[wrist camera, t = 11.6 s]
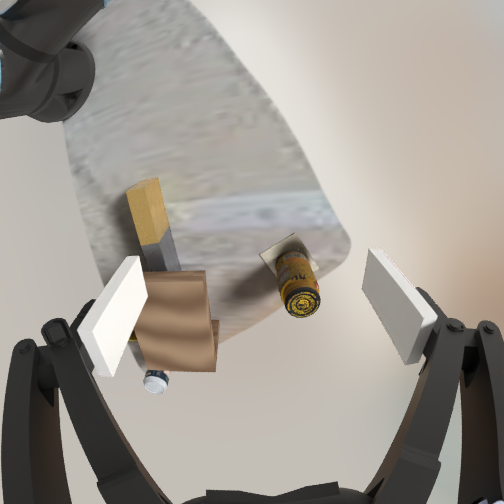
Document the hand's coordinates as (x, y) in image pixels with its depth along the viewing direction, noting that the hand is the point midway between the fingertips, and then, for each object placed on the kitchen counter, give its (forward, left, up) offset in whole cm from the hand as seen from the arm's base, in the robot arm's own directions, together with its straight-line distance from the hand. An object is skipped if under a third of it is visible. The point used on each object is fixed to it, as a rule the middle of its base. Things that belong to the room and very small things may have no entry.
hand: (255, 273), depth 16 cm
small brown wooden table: (+21, -13, -32) cm, 40 cm away
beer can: (+36, -19, -32) cm, 52 cm away
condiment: (+16, +7, -32) cm, 36 cm away
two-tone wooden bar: (+14, -14, -32) cm, 37 cm away
